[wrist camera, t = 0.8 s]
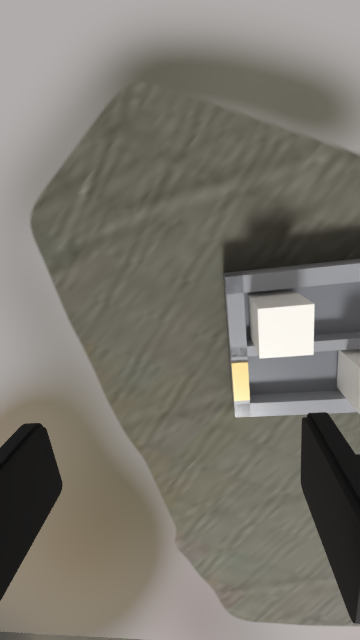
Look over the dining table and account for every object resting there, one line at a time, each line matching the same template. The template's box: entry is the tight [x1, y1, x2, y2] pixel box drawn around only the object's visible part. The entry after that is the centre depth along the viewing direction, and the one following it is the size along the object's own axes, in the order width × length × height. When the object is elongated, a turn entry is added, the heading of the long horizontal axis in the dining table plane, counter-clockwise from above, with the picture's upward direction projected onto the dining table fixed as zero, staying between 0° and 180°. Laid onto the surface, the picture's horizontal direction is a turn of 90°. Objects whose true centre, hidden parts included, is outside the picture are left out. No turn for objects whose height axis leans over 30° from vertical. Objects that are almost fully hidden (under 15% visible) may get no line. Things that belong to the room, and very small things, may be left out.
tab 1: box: [248, 290, 315, 358], centre depth 23 cm, size 4×4×5 cm
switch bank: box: [223, 258, 360, 417], centre depth 26 cm, size 14×16×3 cm
